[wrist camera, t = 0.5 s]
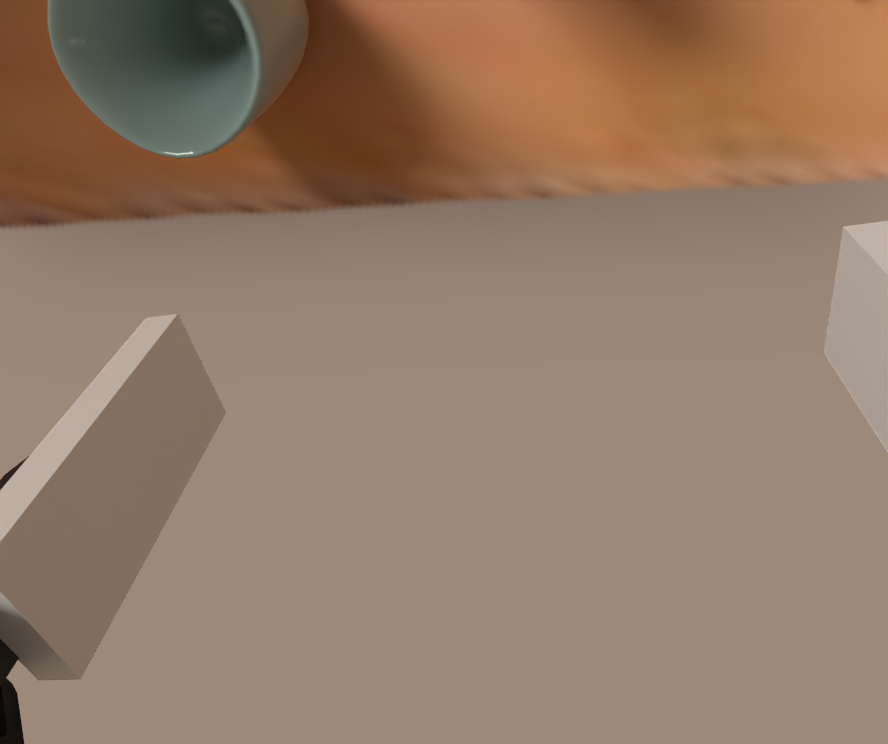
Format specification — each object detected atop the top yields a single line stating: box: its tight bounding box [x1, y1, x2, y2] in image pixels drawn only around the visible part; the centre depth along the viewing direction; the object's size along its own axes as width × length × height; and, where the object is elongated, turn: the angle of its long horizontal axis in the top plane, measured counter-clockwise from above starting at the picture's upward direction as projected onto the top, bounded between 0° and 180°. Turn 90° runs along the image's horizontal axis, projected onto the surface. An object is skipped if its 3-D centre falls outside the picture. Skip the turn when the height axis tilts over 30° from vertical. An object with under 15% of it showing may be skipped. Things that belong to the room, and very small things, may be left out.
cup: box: [47, 0, 309, 159], centre depth 28 cm, size 8×8×10 cm
